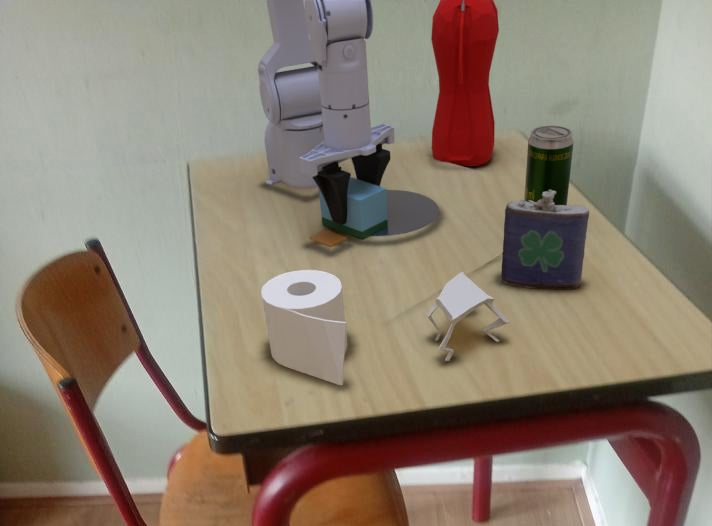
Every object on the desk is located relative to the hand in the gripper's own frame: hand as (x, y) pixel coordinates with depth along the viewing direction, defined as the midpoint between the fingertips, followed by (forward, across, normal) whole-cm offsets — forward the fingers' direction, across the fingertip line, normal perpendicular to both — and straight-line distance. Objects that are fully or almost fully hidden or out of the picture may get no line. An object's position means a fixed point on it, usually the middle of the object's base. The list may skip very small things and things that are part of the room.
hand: (353, 215), depth 104 cm
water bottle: (+3, +28, +5) cm, 29 cm away
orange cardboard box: (+2, -5, 0) cm, 5 cm away
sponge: (+1, 0, 0) cm, 1 cm away
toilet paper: (+3, -24, -18) cm, 30 cm away
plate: (+2, +6, 0) cm, 6 cm away
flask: (+3, +4, -27) cm, 27 cm away
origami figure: (+3, -10, -27) cm, 29 cm away
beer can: (+3, +16, -19) cm, 25 cm away
